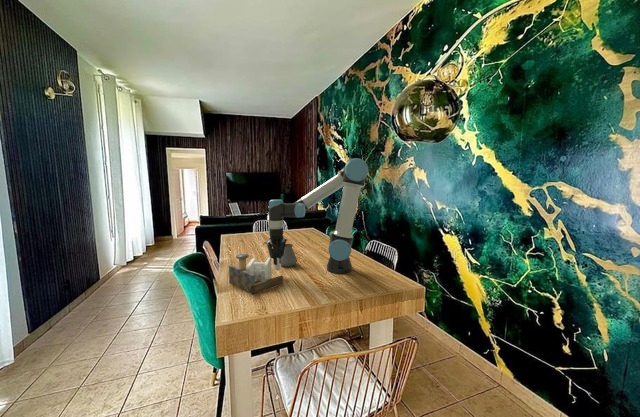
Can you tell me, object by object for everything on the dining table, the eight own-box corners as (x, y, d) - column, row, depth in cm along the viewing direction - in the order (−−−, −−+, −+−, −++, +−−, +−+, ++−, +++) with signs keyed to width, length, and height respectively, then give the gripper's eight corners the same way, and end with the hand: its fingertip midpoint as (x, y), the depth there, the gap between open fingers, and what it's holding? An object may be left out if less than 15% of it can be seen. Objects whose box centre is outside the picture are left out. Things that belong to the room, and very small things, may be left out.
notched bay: (283, 283, 134) (282, 266, 133) (252, 294, 121) (252, 275, 120) (259, 273, 149) (258, 258, 148) (229, 282, 136) (228, 265, 135)
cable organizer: (267, 288, 128) (267, 264, 127) (246, 288, 128) (245, 265, 127) (272, 277, 143) (271, 256, 142) (252, 277, 143) (252, 256, 142)
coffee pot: (297, 262, 171) (297, 239, 170) (296, 267, 160) (296, 243, 159) (265, 262, 170) (264, 240, 169) (261, 268, 159) (261, 244, 158)
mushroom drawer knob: (251, 272, 151) (250, 255, 151) (240, 275, 146) (239, 257, 146) (245, 269, 156) (244, 253, 155) (234, 272, 151) (233, 255, 150)
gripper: (281, 225, 149) (282, 265, 152) (262, 228, 140) (263, 271, 142) (289, 227, 144) (290, 268, 147) (270, 230, 135) (271, 274, 137)
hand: (277, 269), depth 144 cm, fingers closed
